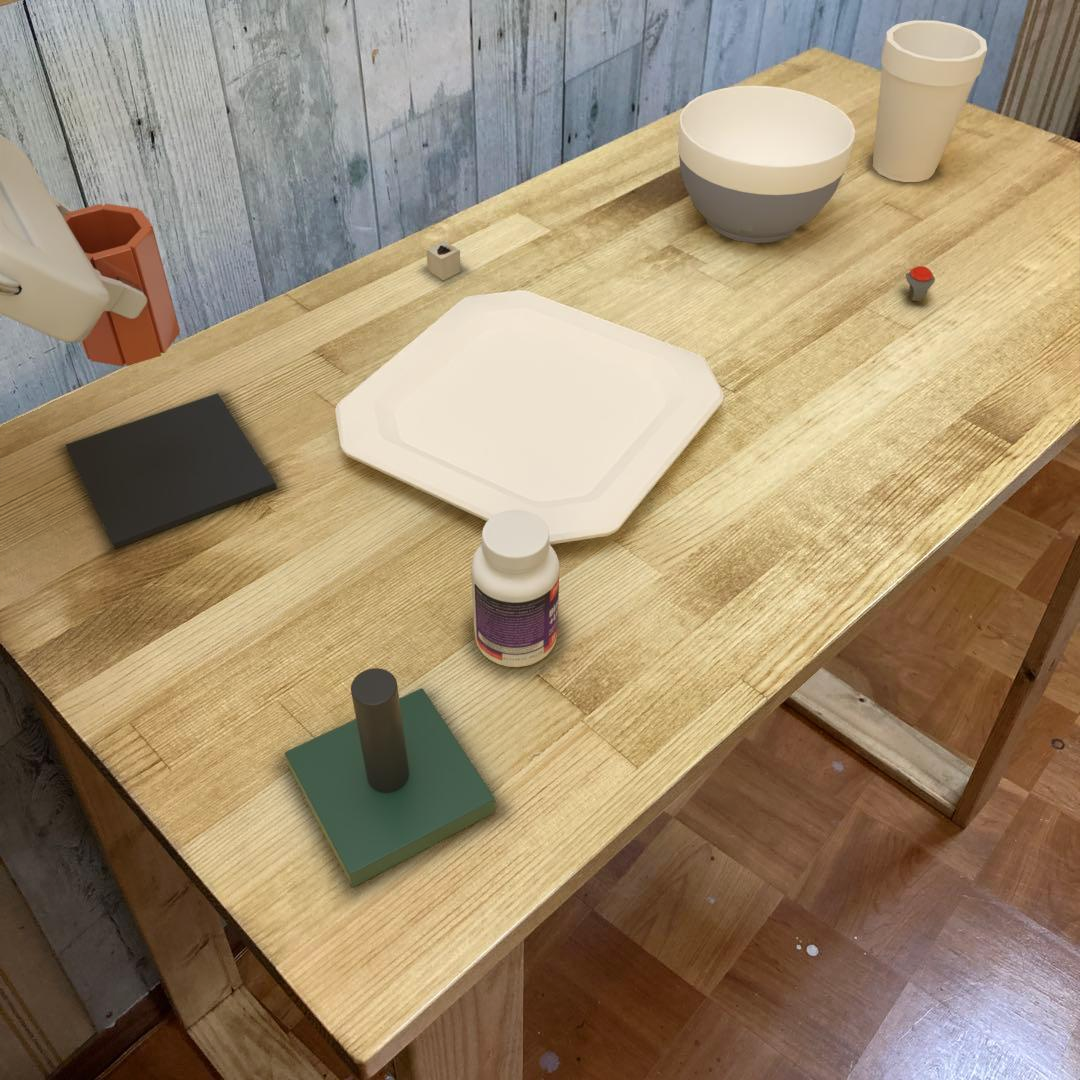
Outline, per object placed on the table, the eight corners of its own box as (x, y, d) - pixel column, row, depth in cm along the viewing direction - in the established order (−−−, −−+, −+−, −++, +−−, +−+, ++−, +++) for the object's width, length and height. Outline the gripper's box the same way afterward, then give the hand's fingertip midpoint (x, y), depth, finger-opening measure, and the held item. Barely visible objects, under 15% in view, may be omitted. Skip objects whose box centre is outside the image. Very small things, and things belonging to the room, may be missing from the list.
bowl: (721, 278, 102) (735, 181, 96) (640, 195, 112) (648, 102, 106) (867, 241, 107) (891, 146, 100) (777, 165, 117) (793, 73, 110)
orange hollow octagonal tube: (97, 376, 73) (60, 268, 67) (70, 326, 76) (33, 220, 70) (190, 346, 75) (162, 240, 69) (160, 300, 79) (131, 195, 73)
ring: (926, 290, 101) (935, 262, 99) (930, 307, 100) (939, 278, 98) (898, 289, 102) (906, 260, 99) (901, 305, 100) (910, 276, 98)
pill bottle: (567, 660, 72) (572, 556, 65) (485, 677, 71) (481, 574, 64) (544, 598, 76) (547, 493, 69) (466, 613, 75) (460, 509, 68)
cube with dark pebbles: (461, 271, 103) (459, 247, 101) (443, 280, 102) (441, 256, 100) (445, 262, 104) (444, 237, 102) (427, 271, 103) (425, 246, 101)
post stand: (352, 888, 61) (329, 790, 54) (287, 765, 67) (259, 662, 59) (496, 812, 65) (492, 710, 57) (423, 701, 70) (412, 595, 63)
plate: (586, 584, 77) (587, 562, 75) (305, 451, 86) (301, 429, 84) (743, 391, 91) (747, 369, 90) (489, 295, 100) (488, 273, 99)
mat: (114, 549, 79) (112, 543, 78) (67, 450, 86) (65, 444, 85) (276, 488, 83) (275, 482, 83) (219, 398, 90) (217, 392, 90)
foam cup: (838, 163, 117) (866, 36, 108) (894, 136, 122) (925, 12, 112) (912, 199, 112) (948, 70, 103) (968, 170, 117) (1007, 43, 107)
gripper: (-32, 209, 55) (203, 317, 66) (-110, 53, 67) (99, 165, 78) (-93, 313, 57) (146, 402, 67) (-159, 142, 68) (53, 240, 79)
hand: (120, 274), depth 72 cm, fingers closed on orange hollow octagonal tube, 6 cm apart
